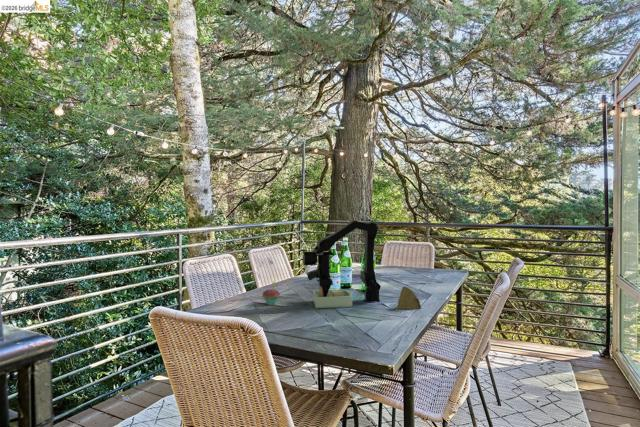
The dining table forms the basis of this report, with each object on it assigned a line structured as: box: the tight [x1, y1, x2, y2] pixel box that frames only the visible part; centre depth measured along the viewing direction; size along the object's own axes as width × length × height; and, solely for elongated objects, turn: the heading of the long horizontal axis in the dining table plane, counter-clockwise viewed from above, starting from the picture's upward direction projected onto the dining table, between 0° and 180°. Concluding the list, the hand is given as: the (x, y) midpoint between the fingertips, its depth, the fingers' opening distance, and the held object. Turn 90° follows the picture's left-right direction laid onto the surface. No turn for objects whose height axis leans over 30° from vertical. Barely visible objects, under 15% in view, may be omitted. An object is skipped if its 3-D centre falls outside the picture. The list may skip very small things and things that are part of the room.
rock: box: [396, 286, 422, 310], centre depth 191 cm, size 11×9×10 cm
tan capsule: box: [318, 284, 329, 297], centre depth 200 cm, size 5×5×7 cm
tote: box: [312, 289, 353, 309], centre depth 200 cm, size 18×14×5 cm
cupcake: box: [261, 280, 281, 306], centre depth 201 cm, size 9×8×12 cm
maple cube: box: [332, 291, 344, 297], centre depth 201 cm, size 5×5×5 cm
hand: (324, 295), depth 200 cm, fingers open, 5 cm apart
